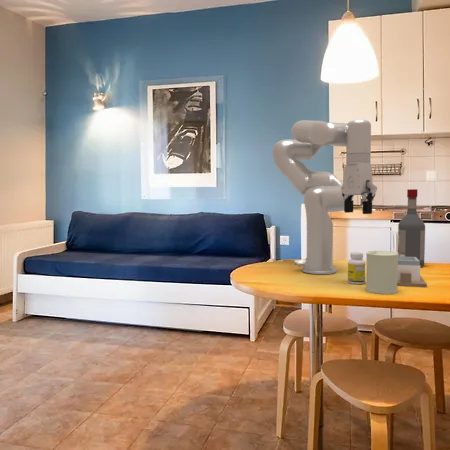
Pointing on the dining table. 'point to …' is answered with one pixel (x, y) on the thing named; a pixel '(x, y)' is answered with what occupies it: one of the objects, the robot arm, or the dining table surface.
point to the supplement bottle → (356, 268)
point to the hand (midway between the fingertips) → (357, 213)
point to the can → (382, 272)
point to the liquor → (411, 231)
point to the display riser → (409, 272)
